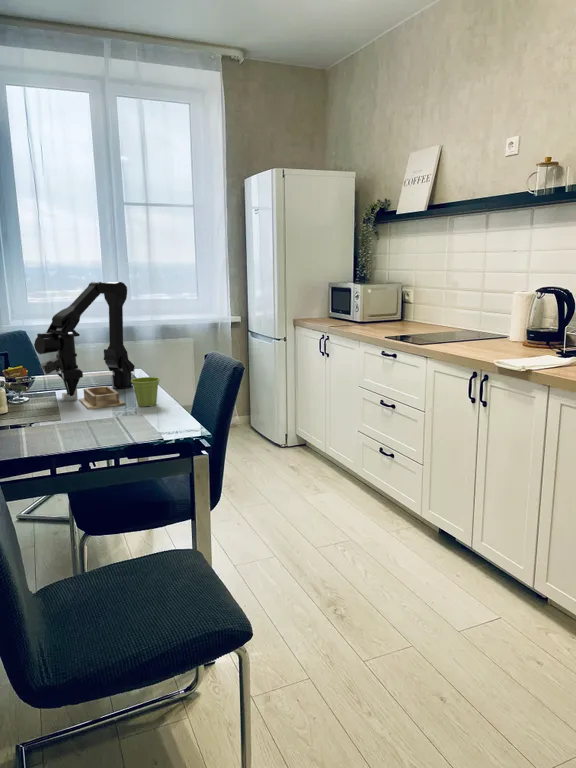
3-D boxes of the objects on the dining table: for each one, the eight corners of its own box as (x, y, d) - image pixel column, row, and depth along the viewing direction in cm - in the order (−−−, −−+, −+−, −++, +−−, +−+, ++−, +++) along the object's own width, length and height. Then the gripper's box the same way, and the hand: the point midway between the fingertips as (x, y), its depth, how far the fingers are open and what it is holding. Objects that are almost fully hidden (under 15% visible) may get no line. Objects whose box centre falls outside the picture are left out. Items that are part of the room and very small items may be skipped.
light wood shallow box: (113, 396, 209) (113, 385, 208) (125, 404, 196) (124, 392, 196) (78, 400, 203) (78, 389, 202) (88, 409, 190) (87, 397, 190)
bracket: (75, 397, 208) (73, 377, 207) (77, 399, 205) (76, 379, 203) (62, 398, 206) (60, 379, 205) (64, 400, 203) (62, 381, 201)
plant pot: (126, 406, 194) (124, 380, 192) (145, 400, 202) (144, 375, 200) (148, 409, 189) (146, 383, 188) (167, 403, 197) (165, 378, 196)
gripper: (37, 349, 206) (41, 392, 209) (45, 355, 190) (50, 402, 193) (70, 346, 212) (74, 389, 215) (81, 353, 196) (85, 398, 199)
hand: (70, 394), depth 205 cm, fingers closed on bracket, 4 cm apart
